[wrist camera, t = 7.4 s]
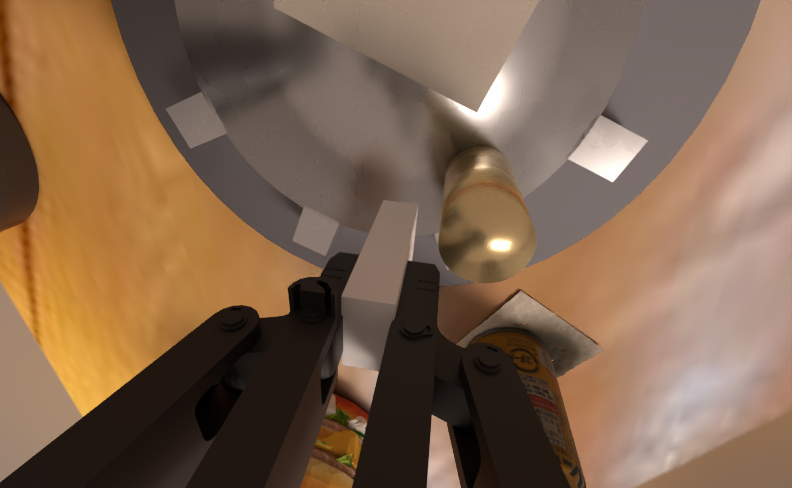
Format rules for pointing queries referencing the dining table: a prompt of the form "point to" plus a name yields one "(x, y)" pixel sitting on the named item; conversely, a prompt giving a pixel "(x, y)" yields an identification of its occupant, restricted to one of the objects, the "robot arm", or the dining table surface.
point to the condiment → (540, 366)
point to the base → (547, 205)
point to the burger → (337, 446)
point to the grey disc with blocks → (413, 109)
